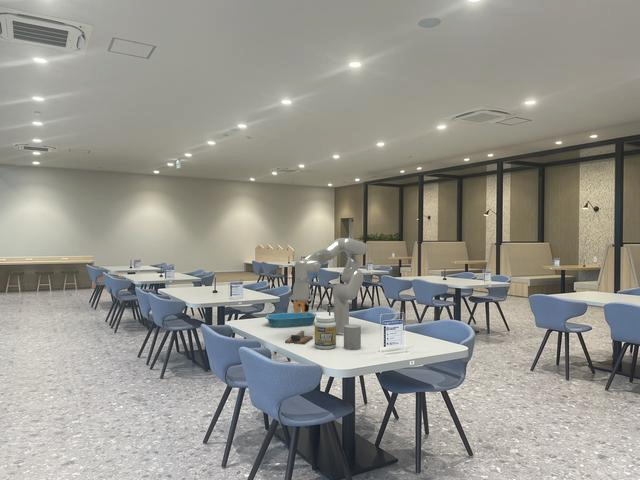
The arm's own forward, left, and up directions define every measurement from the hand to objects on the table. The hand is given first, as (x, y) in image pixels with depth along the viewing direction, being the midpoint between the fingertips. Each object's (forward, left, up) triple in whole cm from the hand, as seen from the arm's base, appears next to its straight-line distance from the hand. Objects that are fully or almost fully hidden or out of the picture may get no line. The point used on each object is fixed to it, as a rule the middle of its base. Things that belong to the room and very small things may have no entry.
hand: (301, 310), depth 286 cm
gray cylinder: (-34, +13, -18) cm, 40 cm away
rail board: (0, +4, -17) cm, 18 cm away
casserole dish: (+22, -44, -18) cm, 52 cm away
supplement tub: (-19, +15, -18) cm, 30 cm away
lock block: (0, 0, -1) cm, 1 cm away
